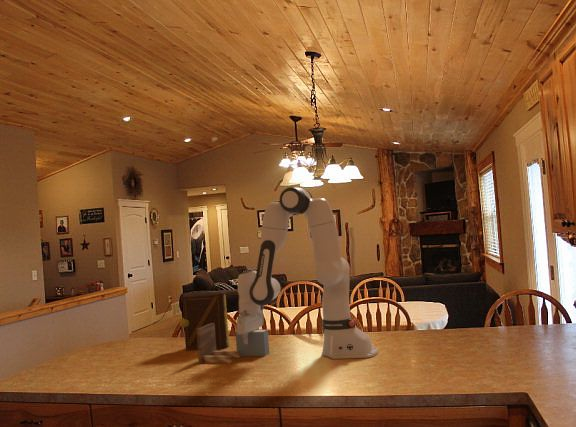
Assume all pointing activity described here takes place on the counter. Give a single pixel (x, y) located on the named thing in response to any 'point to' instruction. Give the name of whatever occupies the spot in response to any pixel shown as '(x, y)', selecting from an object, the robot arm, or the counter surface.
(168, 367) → the counter surface
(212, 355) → the wooden display stand
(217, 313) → the book
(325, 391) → the counter surface
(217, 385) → the counter surface
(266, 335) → the box book
